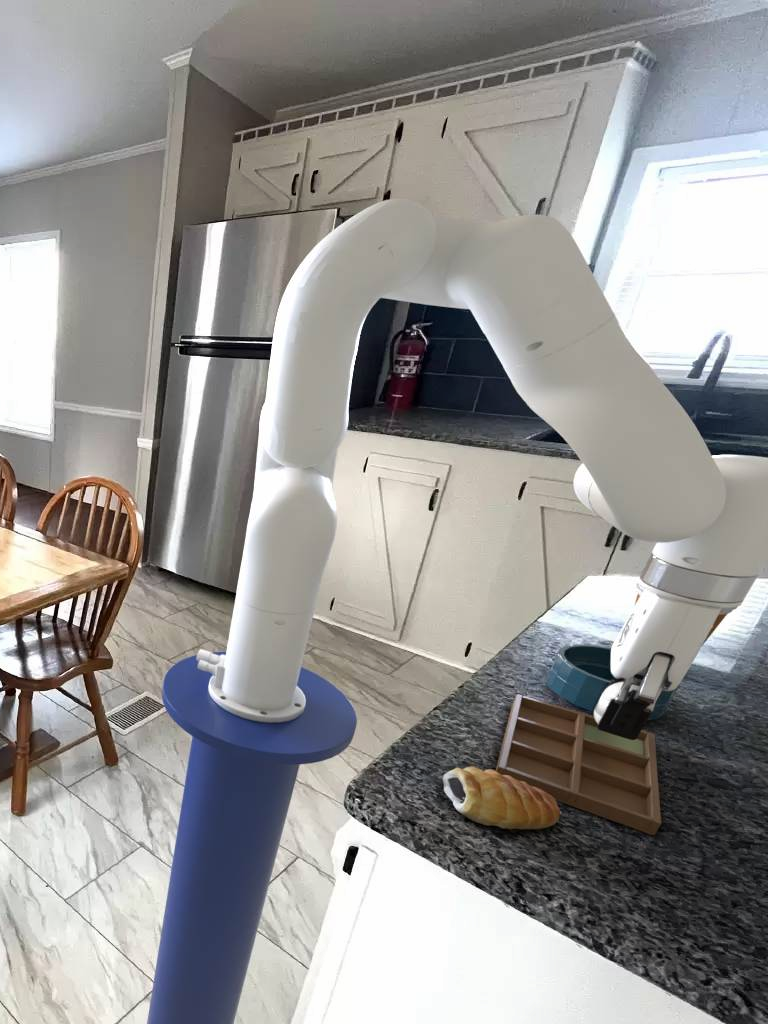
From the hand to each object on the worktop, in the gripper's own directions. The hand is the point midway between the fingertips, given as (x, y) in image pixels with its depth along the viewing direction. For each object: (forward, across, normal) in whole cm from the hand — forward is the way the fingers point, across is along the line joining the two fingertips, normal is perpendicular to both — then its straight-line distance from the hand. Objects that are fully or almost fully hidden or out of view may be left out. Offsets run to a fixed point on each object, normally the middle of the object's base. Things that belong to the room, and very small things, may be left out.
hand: (616, 722), depth 73 cm
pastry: (+4, +21, -8) cm, 23 cm away
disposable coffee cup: (+3, -28, +4) cm, 29 cm away
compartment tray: (+3, +6, -2) cm, 7 cm away
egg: (+1, 0, 0) cm, 1 cm away
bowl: (+3, -12, 0) cm, 13 cm away
